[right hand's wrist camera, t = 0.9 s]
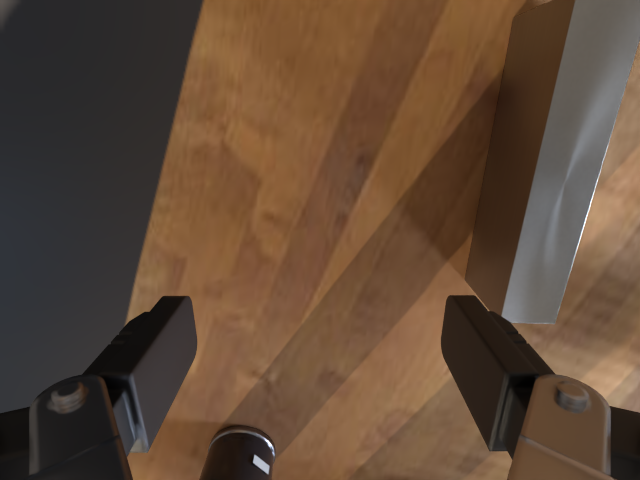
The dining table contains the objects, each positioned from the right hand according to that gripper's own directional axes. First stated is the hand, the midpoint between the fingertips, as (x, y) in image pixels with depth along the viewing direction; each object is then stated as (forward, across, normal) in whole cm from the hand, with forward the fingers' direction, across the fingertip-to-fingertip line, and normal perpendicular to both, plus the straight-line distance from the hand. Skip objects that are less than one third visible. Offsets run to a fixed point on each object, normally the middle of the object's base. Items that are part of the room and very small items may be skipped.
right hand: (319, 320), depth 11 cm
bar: (+28, +20, 0) cm, 35 cm away
